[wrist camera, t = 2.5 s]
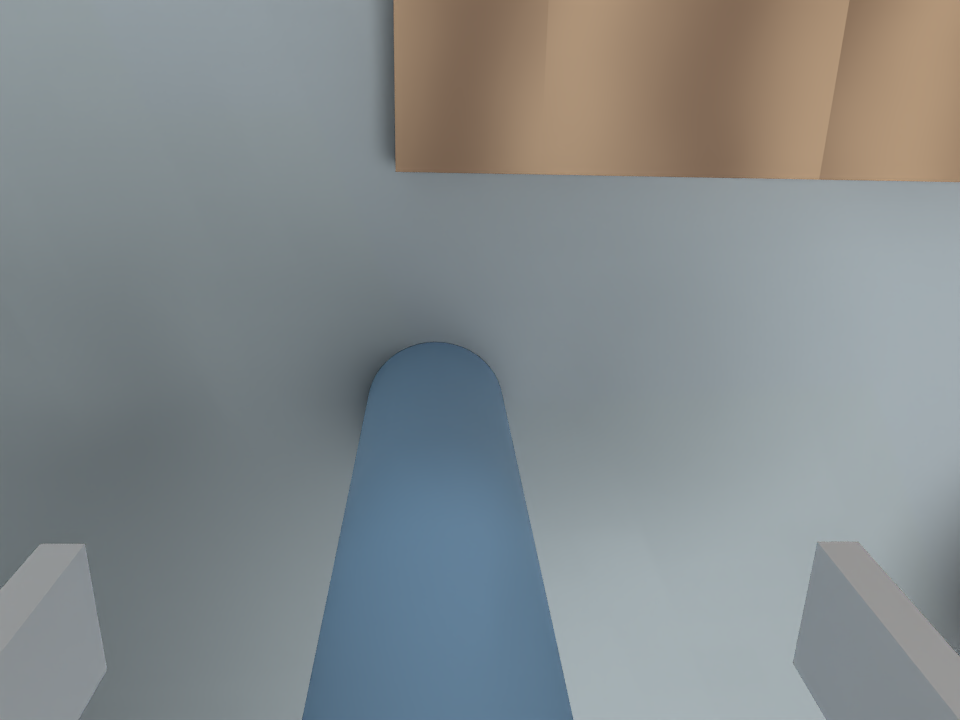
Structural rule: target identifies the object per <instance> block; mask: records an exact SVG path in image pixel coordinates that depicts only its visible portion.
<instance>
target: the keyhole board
mask: <svg viewBox="0 0 960 720" xmlns="http://www.w3.org/2000/svg"><path fill="white" fill-rule="evenodd" d="M393 2H394V81H395V159H396V172H437V173H492V174H547V175H602V176H657V177H711V178H766V179H821V180H876V181H931V182H960V0H393Z"/></svg>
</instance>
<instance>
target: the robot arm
mask: <svg viewBox="0 0 960 720" xmlns="http://www.w3.org/2000/svg"><path fill="white" fill-rule="evenodd" d="M793 664H794V666H795V667H796V669H797V671H798V672H799V674H800V676H801V678H802V679H803V681H804V683H805V684H806V686H807V688H808V689H809V691H810V693H811V694H812V696H813V698H814V700H815V701H816V703H817V705H818V706H819V708H820V710H821V711H822V713H823V715H824V716H825V718H826V720H960V656H959V655H958V654H957V653H956V652H955V651H954V649H953V648H952V647H951V646H950V645H949V644H948V643H947V642H946V640H945V639H944V638H943V637H942V636H941V635H940V634H939V633H938V631H937V630H936V629H935V628H934V627H933V626H932V625H931V623H930V622H929V621H928V620H927V619H926V618H925V617H924V616H923V614H922V613H921V612H920V611H919V610H918V609H917V608H916V607H915V605H914V604H913V603H912V602H911V601H910V600H909V599H908V597H907V596H906V595H905V594H904V593H903V592H902V591H901V590H900V588H899V587H898V586H897V585H896V584H895V583H894V582H893V581H892V579H891V578H890V577H889V576H888V575H887V574H886V573H885V572H884V570H883V569H882V568H881V567H880V566H879V565H878V564H877V562H876V561H875V560H874V559H873V558H872V557H871V556H870V555H869V553H868V552H867V551H866V550H865V549H864V548H863V547H862V546H861V544H860V543H859V542H817V546H816V551H815V556H814V561H813V566H812V571H811V576H810V581H809V586H808V591H807V596H806V600H805V605H804V610H803V615H802V620H801V625H800V630H799V635H798V640H797V645H796V650H795V655H794V659H793ZM106 671H107V665H106V659H105V654H104V648H103V642H102V637H101V631H100V625H99V620H98V614H97V609H96V603H95V597H94V592H93V586H92V580H91V575H90V569H89V563H88V558H87V552H86V546H85V544H40V545H39V546H38V547H37V548H36V549H35V550H34V552H33V553H32V554H31V555H30V556H29V557H28V558H27V560H26V561H25V562H24V563H23V564H22V565H21V566H20V568H19V569H18V570H17V571H16V572H15V573H14V575H13V576H12V577H11V578H10V579H9V580H8V581H7V583H6V584H5V585H4V586H3V587H2V588H1V589H0V720H79V718H80V716H81V715H82V713H83V711H84V709H85V708H86V706H87V704H88V702H89V701H90V699H91V697H92V695H93V694H94V692H95V690H96V688H97V687H98V685H99V683H100V681H101V680H102V678H103V676H104V674H105V673H106Z"/></svg>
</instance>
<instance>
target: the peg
mask: <svg viewBox="0 0 960 720" xmlns="http://www.w3.org/2000/svg"><path fill="white" fill-rule="evenodd" d="M302 720H573V716H572V711H571V707H570V702H569V698H568V693H567V689H566V684H565V679H564V675H563V670H562V666H561V661H560V657H559V652H558V647H557V643H556V638H555V634H554V629H553V625H552V620H551V616H550V611H549V606H548V602H547V597H546V593H545V588H544V584H543V579H542V574H541V570H540V565H539V561H538V556H537V552H536V547H535V542H534V538H533V533H532V529H531V524H530V520H529V515H528V510H527V506H526V501H525V497H524V492H523V488H522V483H521V479H520V474H519V469H518V465H517V460H516V456H515V451H514V447H513V442H512V437H511V433H510V428H509V424H508V419H507V415H506V410H505V405H504V401H503V396H502V392H501V388H500V385H499V382H498V380H497V378H496V376H495V374H494V373H493V371H492V370H491V368H490V367H489V366H488V365H487V364H486V363H485V362H484V361H483V360H482V359H481V358H480V357H479V356H477V355H476V354H474V353H473V352H471V351H469V350H467V349H465V348H463V347H460V346H457V345H454V344H449V343H440V342H431V343H423V344H418V345H414V346H411V347H409V348H406V349H404V350H402V351H400V352H399V353H397V354H395V355H394V356H393V357H391V358H390V359H389V360H388V361H387V362H386V363H385V364H384V365H383V366H382V367H381V368H380V370H379V371H378V373H377V374H376V376H375V378H374V380H373V382H372V385H371V388H370V391H369V396H368V401H367V406H366V410H365V415H364V420H363V425H362V430H361V435H360V440H359V445H358V450H357V454H356V459H355V464H354V469H353V474H352V479H351V484H350V489H349V493H348V498H347V503H346V508H345V513H344V518H343V523H342V528H341V532H340V537H339V542H338V547H337V552H336V557H335V562H334V567H333V572H332V576H331V581H330V586H329V591H328V596H327V601H326V606H325V611H324V615H323V620H322V625H321V630H320V635H319V640H318V645H317V650H316V654H315V659H314V664H313V669H312V674H311V679H310V684H309V689H308V694H307V698H306V703H305V708H304V713H303V718H302Z"/></svg>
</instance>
